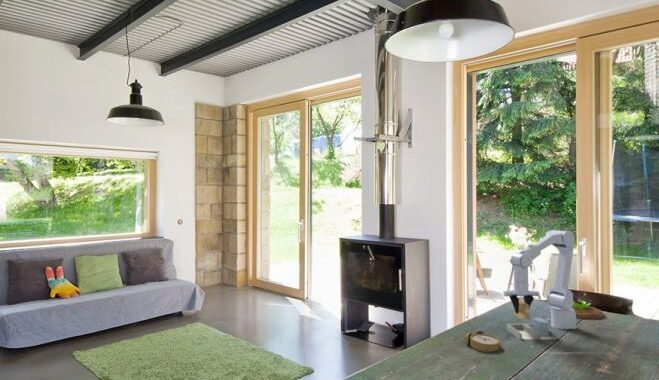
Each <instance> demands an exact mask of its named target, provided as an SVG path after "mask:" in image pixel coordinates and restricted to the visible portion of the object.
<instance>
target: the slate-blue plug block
mask: <svg viewBox="0 0 659 380" xmlns="http://www.w3.org/2000/svg"><path fill="white" fill-rule="evenodd" d="M531 318H532V319H531V320H532V324H533V329H535V330H536V331H538V332H539V333H541V337H549V329H550V328H549V321H547V320H545V319H543V318H542V317H531Z"/></svg>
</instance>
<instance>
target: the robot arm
mask: <svg viewBox="0 0 659 380" xmlns="http://www.w3.org/2000/svg"><path fill="white" fill-rule="evenodd" d="M575 240H576V237H575V235H574V233H573V232H572V231H570V230H558V229H557V230H556V229H550V230H549V231H547V232H545V236H543V237H542V238H541V239H540V240H538V242H536V243H535V244H534V243H532V244H530V243H529V244H527V246H526V247H525V248H523V249H521V250H520V251H519V252H515V253H513V254H511V258H510V259H509V260H510V264H511V268H512V270H513V290H503V292H502V293H503V294H502V295H503V297H509V299H510V302H511V303H512V306H513V311H514V310H515V313H518V303H519V301H520V298H519V297H523V302H525V303H527V304H528V305H529V309H530V308H531V305H532V303H533V302H534V299H535V298H534V297H540V291H538V290H529V267H531V264H532V263H533V261H534V260H535V259H537V258H538V257H539V256H541V254H542V252H541V251H543V250H545V249H546V248H548V247H549V246H553V247H555V249H557V250H558V258H557V266H556V272H555V282H554V285H553V286H552V287H550V288H549V290H548V293H547V295H546V302H547V304H548V305H549V308H550V315H551V317H550V320H551V328H554V329H559V330H571V329H573V330H576V329H577V318H576V314H575V311H574V310H573V309H571V308H572V307H573V303H574V302H575V301H574V298H573V296H574V293H573V292H572V291H571V290H570V288H569V284H570V276H571V269H572V262H573V254H574V247H575Z"/></svg>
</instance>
